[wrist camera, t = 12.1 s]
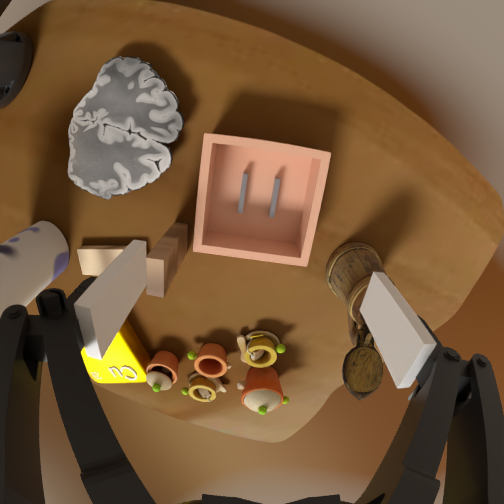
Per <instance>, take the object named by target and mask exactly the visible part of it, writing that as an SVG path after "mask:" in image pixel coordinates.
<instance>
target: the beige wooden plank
mask: <svg viewBox="0 0 504 504" xmlns="http://www.w3.org/2000/svg"><path fill="white" fill-rule="evenodd" d="M126 247H127V246H80V247H79V248H78V249H77V252H78V257H79V261H80V265H81V269H82V273H83V275H100V274H101V273H102V272H103V271H104V270H105V269H106V268H107V267H108V266H109V265H110V264H111V263H112V261H113V260H114V259H115V258H116V257H117V256H118V255H119V254H120V253H121V252H122V251H123V250H124V249H125V248H126ZM146 257H147V252H146Z"/></svg>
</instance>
